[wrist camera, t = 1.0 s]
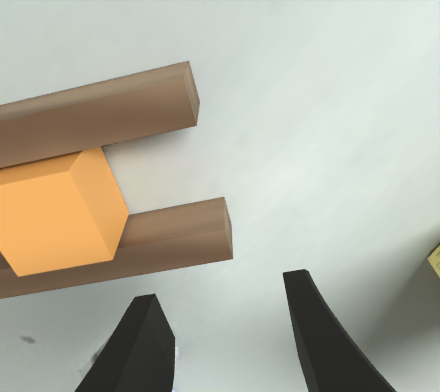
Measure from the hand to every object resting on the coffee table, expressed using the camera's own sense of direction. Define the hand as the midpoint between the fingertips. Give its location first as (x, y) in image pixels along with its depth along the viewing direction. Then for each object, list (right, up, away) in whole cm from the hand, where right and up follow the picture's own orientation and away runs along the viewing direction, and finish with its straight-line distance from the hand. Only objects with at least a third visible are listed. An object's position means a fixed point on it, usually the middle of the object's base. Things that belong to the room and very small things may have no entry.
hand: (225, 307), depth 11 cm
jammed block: (-8, +4, +10) cm, 13 cm away
